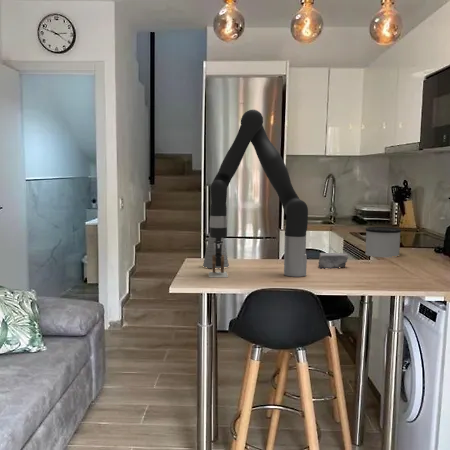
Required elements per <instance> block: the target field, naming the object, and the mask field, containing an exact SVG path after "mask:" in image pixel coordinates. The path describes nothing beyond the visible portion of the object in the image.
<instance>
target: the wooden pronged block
mask: <svg viewBox="0 0 450 450" xmlns="http://www.w3.org/2000/svg"><path fill="white" fill-rule="evenodd" d="M215 264H216V257H215V255H212V269H211V272H213V273H215V272H216V269H215ZM220 272H221V273H224V272H225V269H224V255H222V257H221V269H220Z"/></svg>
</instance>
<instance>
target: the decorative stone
mask: <svg viewBox="0 0 450 450" xmlns="http://www.w3.org/2000/svg"><path fill="white" fill-rule="evenodd" d="M348 258H349V255H348V254H347V253H342V252H338V253H335V252H319V257H318V267H319V269H322V268H338V269H340V268H339V267H344V268H345V267H346V264H347V262H348Z"/></svg>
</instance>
